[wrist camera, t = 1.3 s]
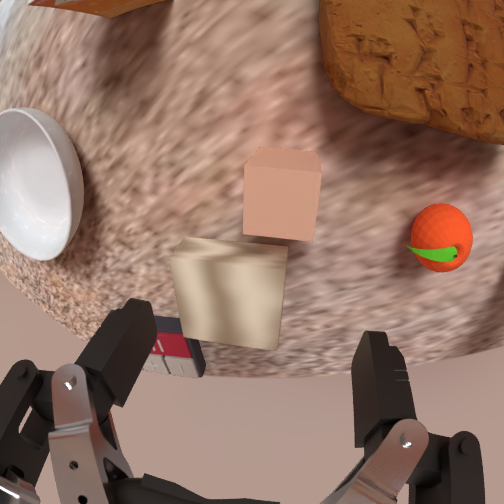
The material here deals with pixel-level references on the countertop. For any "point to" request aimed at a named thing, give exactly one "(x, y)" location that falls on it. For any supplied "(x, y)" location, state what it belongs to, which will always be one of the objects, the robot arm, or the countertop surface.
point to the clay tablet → (419, 61)
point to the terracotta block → (281, 193)
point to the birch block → (230, 291)
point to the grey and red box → (174, 351)
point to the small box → (95, 5)
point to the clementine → (441, 237)
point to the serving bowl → (38, 184)
